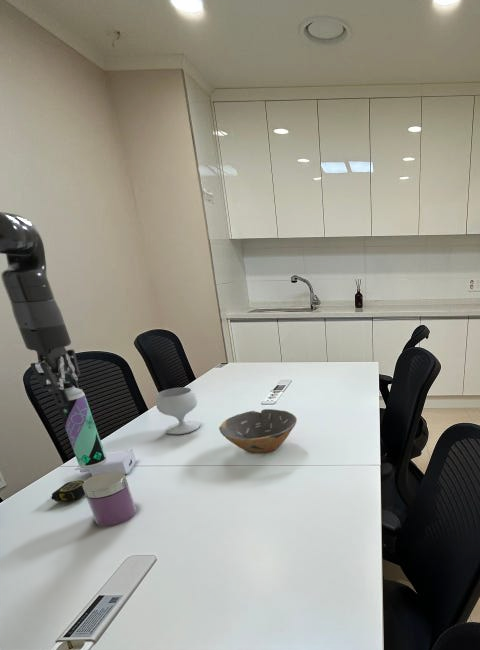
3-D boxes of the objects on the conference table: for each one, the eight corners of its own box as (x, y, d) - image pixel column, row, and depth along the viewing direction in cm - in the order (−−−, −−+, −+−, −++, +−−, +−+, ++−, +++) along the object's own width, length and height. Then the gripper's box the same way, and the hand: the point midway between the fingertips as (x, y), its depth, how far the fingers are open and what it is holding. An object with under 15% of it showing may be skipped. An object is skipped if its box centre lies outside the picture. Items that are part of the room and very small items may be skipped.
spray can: (77, 463, 92) (47, 382, 84) (104, 455, 96) (77, 376, 88) (82, 470, 88) (50, 386, 80) (109, 462, 92) (81, 381, 84)
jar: (90, 529, 95) (76, 494, 90) (103, 508, 102) (91, 475, 98) (130, 522, 97) (118, 488, 92) (140, 502, 105) (130, 470, 100)
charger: (84, 467, 124) (136, 461, 127) (71, 482, 115) (127, 475, 118) (79, 454, 122) (132, 448, 125) (66, 468, 113) (122, 461, 117)
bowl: (238, 474, 117) (233, 445, 113) (215, 446, 135) (209, 420, 131) (312, 451, 130) (310, 423, 126) (282, 428, 148) (279, 403, 144)
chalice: (189, 437, 143) (180, 398, 137) (155, 435, 145) (144, 397, 139) (209, 422, 156) (201, 386, 150) (178, 421, 158) (169, 386, 152)
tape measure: (72, 490, 111) (67, 479, 110) (95, 490, 111) (91, 479, 109) (53, 504, 105) (48, 492, 103) (78, 504, 105) (73, 492, 103)
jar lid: (79, 500, 91) (75, 492, 90) (93, 482, 99) (90, 473, 98) (120, 494, 93) (117, 486, 92) (131, 476, 101) (128, 468, 100)
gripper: (38, 320, 84) (65, 393, 91) (-2, 330, 72) (33, 415, 79) (77, 318, 86) (101, 390, 93) (45, 327, 73) (75, 411, 80)
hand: (70, 401), depth 86 cm, fingers closed on spray can, 5 cm apart
